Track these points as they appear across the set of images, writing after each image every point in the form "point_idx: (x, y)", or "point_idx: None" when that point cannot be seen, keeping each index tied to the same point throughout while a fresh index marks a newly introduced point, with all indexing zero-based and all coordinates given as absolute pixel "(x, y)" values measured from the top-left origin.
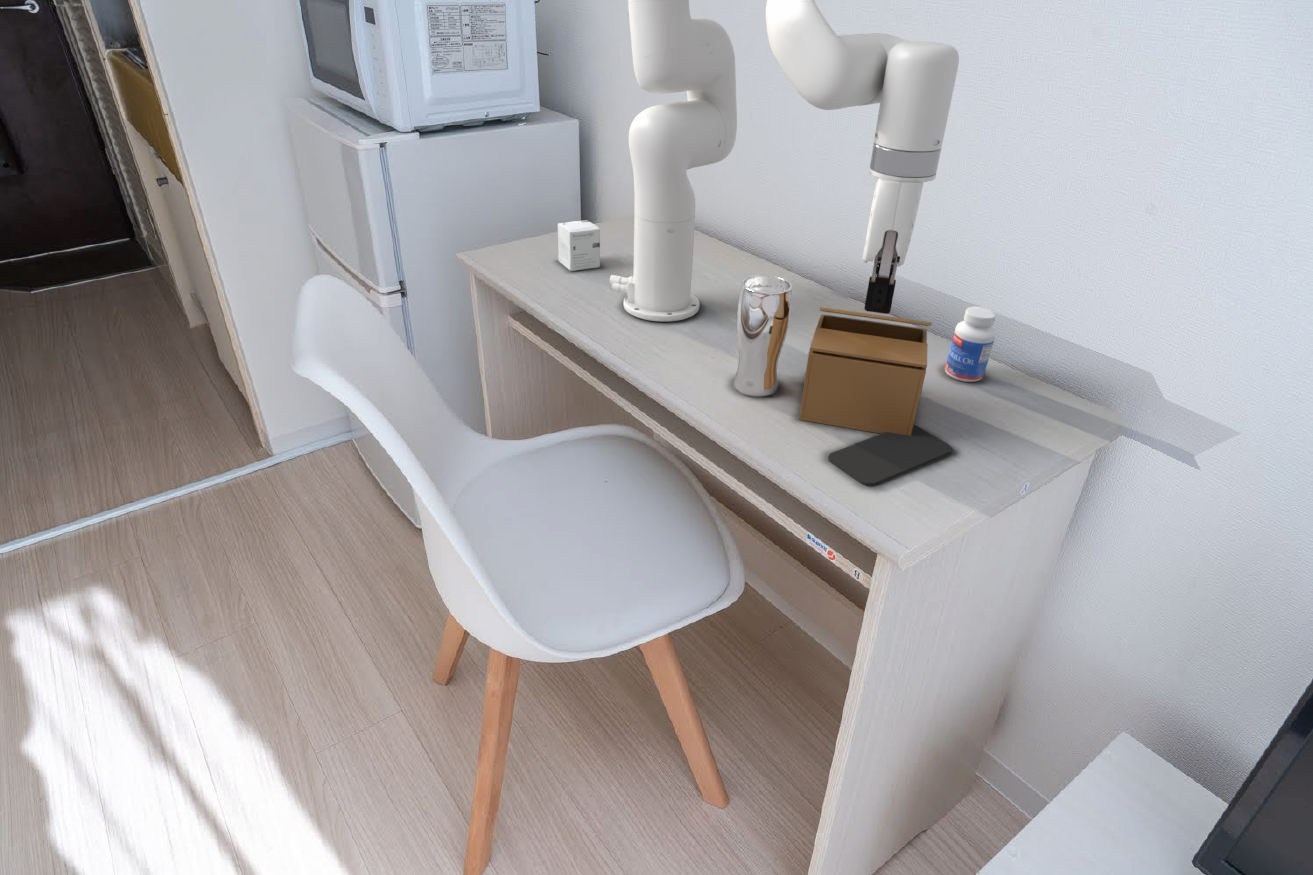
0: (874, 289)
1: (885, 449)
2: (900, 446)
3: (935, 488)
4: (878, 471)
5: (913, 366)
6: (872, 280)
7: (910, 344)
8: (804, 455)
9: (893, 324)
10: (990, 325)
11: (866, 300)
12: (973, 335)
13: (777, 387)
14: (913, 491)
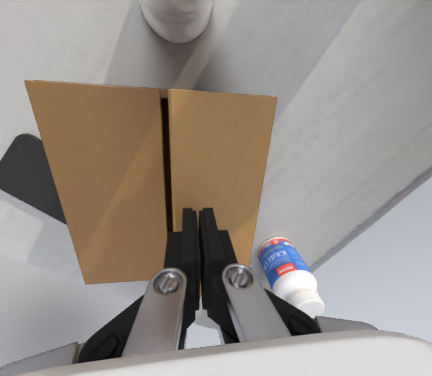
0: (165, 263)
1: None
2: None
3: (39, 236)
4: (25, 190)
5: None
6: (151, 282)
7: (154, 260)
8: (11, 102)
9: None
10: None
11: (183, 221)
12: (277, 291)
13: (176, 42)
14: (19, 220)
